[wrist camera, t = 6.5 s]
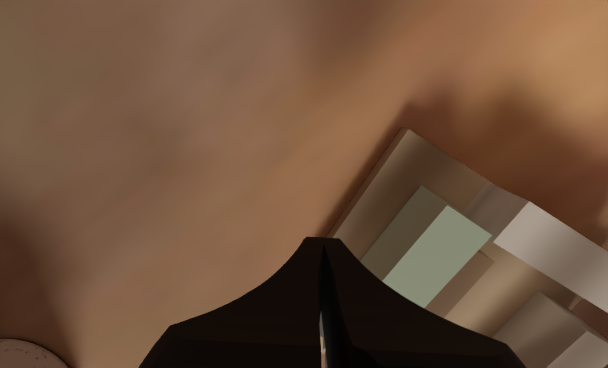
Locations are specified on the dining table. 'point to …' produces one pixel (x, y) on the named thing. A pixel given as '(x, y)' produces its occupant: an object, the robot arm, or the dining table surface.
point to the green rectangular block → (423, 248)
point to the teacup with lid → (26, 355)
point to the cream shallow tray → (492, 257)
